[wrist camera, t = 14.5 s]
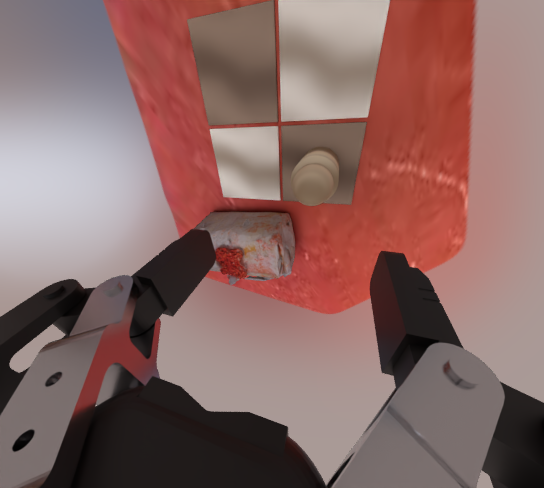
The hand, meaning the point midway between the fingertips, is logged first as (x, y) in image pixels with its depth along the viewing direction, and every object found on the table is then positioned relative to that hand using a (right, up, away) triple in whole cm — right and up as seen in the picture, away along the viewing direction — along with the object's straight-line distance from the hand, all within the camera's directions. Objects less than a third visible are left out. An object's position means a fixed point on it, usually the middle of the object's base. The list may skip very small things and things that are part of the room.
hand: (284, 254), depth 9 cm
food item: (-3, +3, +21) cm, 22 cm away
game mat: (0, +14, +12) cm, 18 cm away
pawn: (+5, +9, +13) cm, 17 cm away
